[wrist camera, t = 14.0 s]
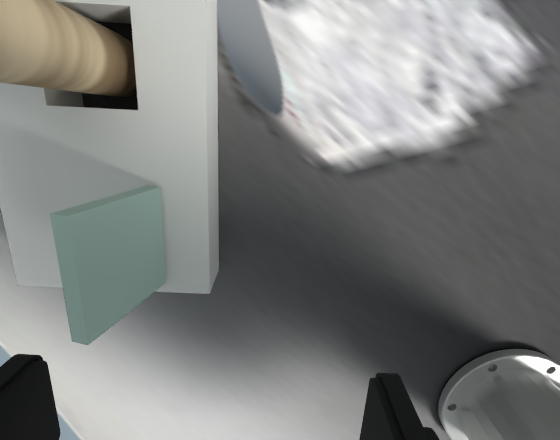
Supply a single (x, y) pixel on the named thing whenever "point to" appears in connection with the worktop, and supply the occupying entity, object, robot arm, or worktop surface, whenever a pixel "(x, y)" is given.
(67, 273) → the latch flap
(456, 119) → the worktop surface
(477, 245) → the worktop surface
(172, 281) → the block
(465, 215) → the worktop surface
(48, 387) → the robot arm
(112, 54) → the dowel
